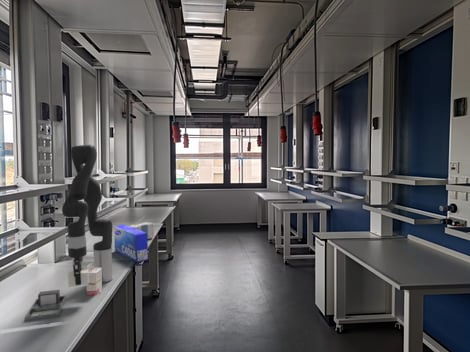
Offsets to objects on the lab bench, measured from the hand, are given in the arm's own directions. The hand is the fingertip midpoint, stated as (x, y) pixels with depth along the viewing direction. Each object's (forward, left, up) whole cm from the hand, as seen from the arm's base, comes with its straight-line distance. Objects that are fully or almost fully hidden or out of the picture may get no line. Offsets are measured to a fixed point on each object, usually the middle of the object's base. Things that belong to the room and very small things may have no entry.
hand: (78, 282), depth 160 cm
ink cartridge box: (-12, +6, -10) cm, 17 cm away
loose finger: (0, 0, -1) cm, 1 cm away
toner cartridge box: (-79, +24, -10) cm, 83 cm away
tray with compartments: (+4, -12, -10) cm, 16 cm away
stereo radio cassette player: (-125, +33, -10) cm, 130 cm away
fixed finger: (-1, -12, -9) cm, 15 cm away
